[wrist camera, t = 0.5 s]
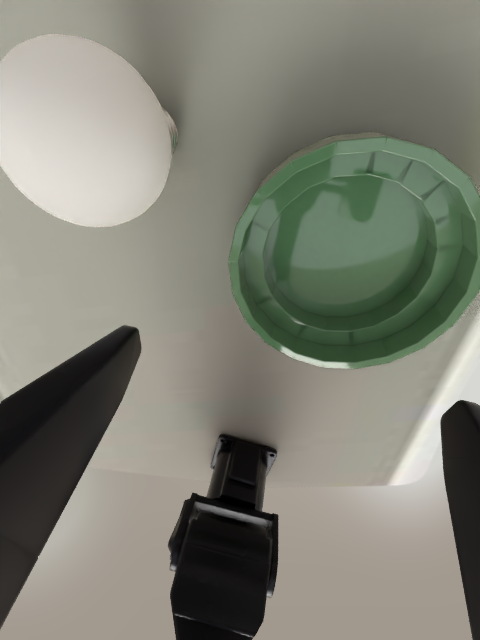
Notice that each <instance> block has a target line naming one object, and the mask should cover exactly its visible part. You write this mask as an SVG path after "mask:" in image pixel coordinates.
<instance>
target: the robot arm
mask: <svg viewBox="0 0 480 640" xmlns="http://www.w3.org/2000/svg"><path fill="white" fill-rule="evenodd" d="M140 353H141V341H140V335H139V330H138V329H137V328H135V327H131V326H126V325H124V326H121V327H119V328H118V329H116V330H115V331H113V332H111V333H110V334H108V335H107V336H105V337H103V338H102V339H100V340H99V341H97V342H95V343H94V344H92V345H91V346H89V347H87V348H86V349H84V350H83V351H81V352H79V353H78V354H76V355H75V356H73V357H71V358H70V359H68V360H67V361H65V362H63V363H62V364H60V365H59V366H57V367H55V368H54V369H52V370H51V371H49V372H47V373H46V374H44V375H43V376H41V377H39V378H38V379H36V380H35V381H33V382H31V383H30V384H28V385H27V386H25V387H23V388H22V389H20V390H19V391H17V392H15V393H14V394H12V395H11V396H9V397H7V398H6V399H4V400H3V401H2V402H1V404H0V629H1V627H2V625H3V623H4V621H5V619H6V618H7V616H8V614H9V612H10V610H11V608H12V606H13V604H14V603H15V601H16V599H17V597H18V595H19V593H20V591H21V589H22V587H23V586H24V584H25V582H26V580H27V578H28V576H29V574H30V572H31V571H32V569H33V567H34V565H35V563H36V561H37V559H38V556H39V555H40V553H41V551H42V550H43V548H44V546H45V544H46V542H47V540H48V538H49V536H50V534H51V533H52V531H53V529H54V527H55V525H56V523H57V521H58V520H59V518H60V516H61V514H62V512H63V510H64V508H65V506H66V505H67V503H68V501H69V499H70V497H71V495H72V493H73V491H74V489H75V488H76V486H77V484H78V482H79V480H80V478H81V476H82V475H83V473H84V471H85V469H86V467H87V465H88V463H89V461H90V459H91V458H92V456H93V454H94V452H95V450H96V448H97V446H98V444H99V443H100V441H101V439H102V437H103V435H104V433H105V431H106V429H107V428H108V426H109V424H110V422H111V420H112V418H113V416H114V414H115V413H116V411H117V409H118V407H119V405H120V403H121V401H122V399H123V396H124V394H125V392H126V389H127V387H128V384H129V381H130V379H131V376H132V374H133V371H134V369H135V366H136V364H137V361H138V359H139V356H140ZM441 440H442V456H443V470H444V479H445V486H446V492H447V497H448V502H449V509H450V514H451V520H452V526H453V531H454V537H455V542H456V548H457V554H458V559H459V565H460V571H461V576H462V582H463V588H464V593H465V599H466V604H467V610H468V616H469V622H470V627H471V633H472V638H473V640H480V406H479V405H478V404H476V403H472V402H468V401H464V400H460V401H457V402H456V403H455V404H454V405H453V406H452V407H451V408H450V409H448V410H447V411H446V412H445V413H444V414H443V416H442V418H441ZM276 457H277V451H276V450H274V449H270V448H267V447H264V446H260V445H257V444H254V443H250V442H247V441H243V440H240V439H237V438H233V437H230V436H227V435H220V436H219V440H218V443H217V446H216V450H215V453H214V456H213V460H212V463H211V468H212V469H213V470H214V471H213V475H212V478H211V482H210V486H209V490H208V494H207V497H204V496H200V495H198V494H196V493H192V495H191V498H190V499H188V500H185V502H184V505H183V508H182V511H181V514H180V517H179V519H178V522H177V524H176V526H175V528H174V531H173V533H172V535H171V537H170V540H169V543H168V548H169V550H170V552H171V556H170V560H171V563H170V570H171V571H174V572H176V573H175V577H174V581H173V584H172V588H171V593H170V599H171V606H172V612H173V620H174V626H175V634H176V640H252V639H253V637H254V636H255V635H256V633H257V631H258V629H259V627H260V626H261V624H262V622H263V618H264V613H265V604H266V597H268V598H271V597H272V595H273V591H274V587H275V582H276V575H277V565H278V515H277V514H274V513H273V514H269V513H266V512H262V507H263V497H264V489H265V481H266V476H267V474H268V472H269V471H270V469H271V467H272V465H273V463H274V461H275V459H276Z"/></svg>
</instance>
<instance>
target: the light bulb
mask: <svg viewBox="0 0 480 640" xmlns="http://www.w3.org/2000/svg"><path fill="white" fill-rule="evenodd" d="M177 140H178V131H177V128H176V124H175V122H174V120H173V119H172V117H171V116H170V114H169V113H168V112H167V111H166V110H165V109H164V108H163V106H162V105H161V104H160V103H159V102H158V100H157V98H156V96H155V94H154V93H153V91H152V89H151V88H150V87H149V85H148V84H147V83H146V82H145V80H144V79H143V78H142V76H141V75H140V74H139V73H138V71H137V70H136V69H135V68H133V67H132V66H131V65H130V64H129V63H128V62H127V61H126V60H125V59H124V58H122V57H121V56H119V55H118V54H116V53H114V52H113V51H111V50H109V49H108V48H106V47H104V46H102V45H101V44H99V43H97V42H94V41H92V40H89V39H86V38H83V37H80V36H72V35H61V34H47V35H42V36H38V37H34V38H31V39H28V40H26V41H23V42H22V43H20V44H18V45H17V46H15V47H14V48H12V49H11V50H10V51H9V52H8V53H7V54H6V55H5V57H4V58H3V59H2V60H1V61H0V165H1V167H2V168H3V170H4V172H5V173H6V175H7V176H8V177H9V179H10V180H11V181H12V182H13V184H14V185H15V186H16V187H17V188H18V189H19V190H20V191H21V192H22V193H23V194H24V195H25V196H26V197H27V198H28V199H29V200H31V201H32V202H33V203H34V204H36V205H37V206H39V207H40V208H41V209H43V210H44V211H45V212H47V213H49V214H51V215H53V216H55V217H57V218H59V219H62V220H65V221H68V222H71V223H74V224H77V225H81V226H88V227H109V226H116V225H119V224H122V223H125V222H128V221H131V220H133V219H135V218H137V217H138V216H140V215H141V214H143V213H144V212H145V211H146V210H147V209H148V208H149V207H150V206H151V205H152V204H153V203H154V202H155V201H156V200H157V199H158V197H159V195H160V194H161V192H162V190H163V189H164V186H165V183H166V180H167V177H168V174H169V171H170V164H171V156H172V155H173V153H174V151H175V148H176V146H177Z"/></svg>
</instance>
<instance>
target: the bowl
mask: <svg viewBox="0 0 480 640" xmlns="http://www.w3.org/2000/svg"><path fill="white" fill-rule="evenodd" d="M228 263H229V271H230V279H231V287H232V293H233V296H234V298H235V300H236V302H237V304H238V307H239V309H240V311H241V313H242V315H243V317H244V319H245V321H246V322H247V323H248V325H249V326H250V327H251V328H252V329H253V330H254V331H255V332H256V333H257V334H258V335H259V336H260V337H261V338H262V339H263V340H264V342H265V343H267V344H268V345H270V346H272V347H273V348H275V349H277V350H278V351H280V352H282V353H283V354H285V355H287V356H289V357H290V358H293V359H295V360H298V361H302V362H305V363H309V364H312V365H316V366H319V367H323V368H343V369H359V368H364V367H370V366H375V365H381V364H386V363H390V362H393V361H395V360H397V359H400V358H402V357H404V356H407V355H409V354H411V353H414V352H416V351H418V350H421V349H423V348H424V347H426V346H427V345H428V344H430V343H431V342H432V341H434V340H435V339H436V338H438V337H439V336H440V335H442V334H443V333H444V332H446V331H447V330H448V329H450V328H451V327H452V326H453V325H454V324H455V323H456V322H457V321H458V319H459V318H460V317H461V315H462V314H463V313H464V311H465V310H466V309H467V308H468V306H469V305H470V304H471V302H472V301H473V300H474V298H475V297H476V296H477V294H478V293H479V290H480V195H479V193H478V191H477V189H476V187H475V185H474V183H473V181H472V179H471V178H470V176H469V175H467V174H466V173H465V172H464V171H462V170H461V169H460V168H458V167H457V166H456V165H455V164H453V163H452V162H451V161H449V160H448V159H447V158H446V157H444V156H443V155H442V154H440V153H439V152H438V151H437V150H435V149H433V148H430V147H427V146H423V145H420V144H416V143H413V142H410V141H406V140H402V139H398V138H395V137H391V136H387V135H383V134H380V133H376V132H365V133H354V134H344V135H334V136H331V137H327V138H325V139H323V140H321V141H319V142H316V143H314V144H312V145H310V146H307V147H305V148H303V149H301V150H299V151H296V152H295V153H293V154H291V155H290V156H289V157H288V158H287V159H286V160H285V161H284V162H283V163H281V164H280V165H279V166H278V167H277V168H276V169H275V170H274V171H272V172H271V173H270V174H269V175H268V176H267V177H266V178H265V179H264V180H263V182H262V183H261V185H260V186H259V188H258V189H257V191H256V193H255V194H254V196H253V198H252V199H251V201H250V203H249V204H248V206H247V208H246V210H245V211H244V213H243V215H242V216H241V218H240V220H239V221H238V223H237V225H236V227H235V232H234V237H233V242H232V246H231V251H230V256H229V262H228Z"/></svg>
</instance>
